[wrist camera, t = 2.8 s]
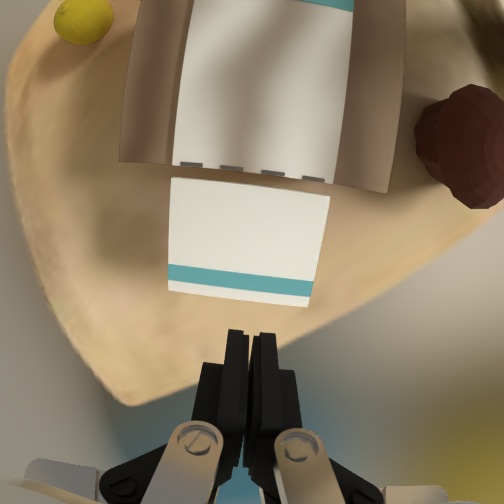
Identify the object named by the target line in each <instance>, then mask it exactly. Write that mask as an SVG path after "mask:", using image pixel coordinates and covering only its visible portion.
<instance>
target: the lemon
mask: <svg viewBox="0 0 504 504" xmlns="http://www.w3.org/2000/svg"><path fill="white" fill-rule="evenodd" d="M113 16H114V13H113V9H112V7H111V5H110V4H109V3H108V1H107V0H65V1H64V2H63V3H62V4H61V5H60V7H59V8H58V10H57V11H56V14H55V17H54V28H55V30H56V32H57V34H58V35H59V36H60V37H61V38H62V39H64V40H65V41H67V42H69V43H72V44H77V45H86V44H90V43H93V42H95V41H98V40H99V39H101V38H102V37H103V36H104V35H105V34H106V33H107V32H108V31H109V29H110V27H111V25H112V22H113Z"/></svg>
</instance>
